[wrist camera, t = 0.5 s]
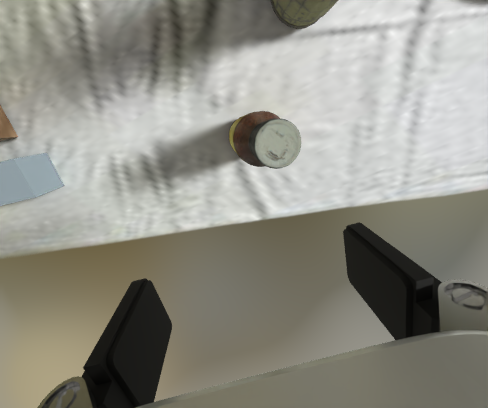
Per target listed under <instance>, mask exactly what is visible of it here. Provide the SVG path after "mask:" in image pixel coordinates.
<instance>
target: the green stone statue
mask: <svg viewBox="0 0 488 408" xmlns="http://www.w3.org/2000/svg"><path fill="white" fill-rule="evenodd" d="M337 1H338V0H271V3H272V6H273V9H274V12H275V13H276V15H277V16H278V18H279V19H280V20H281V21H282V22H283V23H285V24H286V25H287V26H290V27H293V28H306V27H308V26H310V25H312V24H314V23H315V22H316V21H317V20H318V19H319V18H321V17H323V16H324V15H325V14H326V13H327V12H328V11H329V10H330V9H331V8H332V7H333V6H334V4H335V3H336V2H337Z"/></svg>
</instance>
